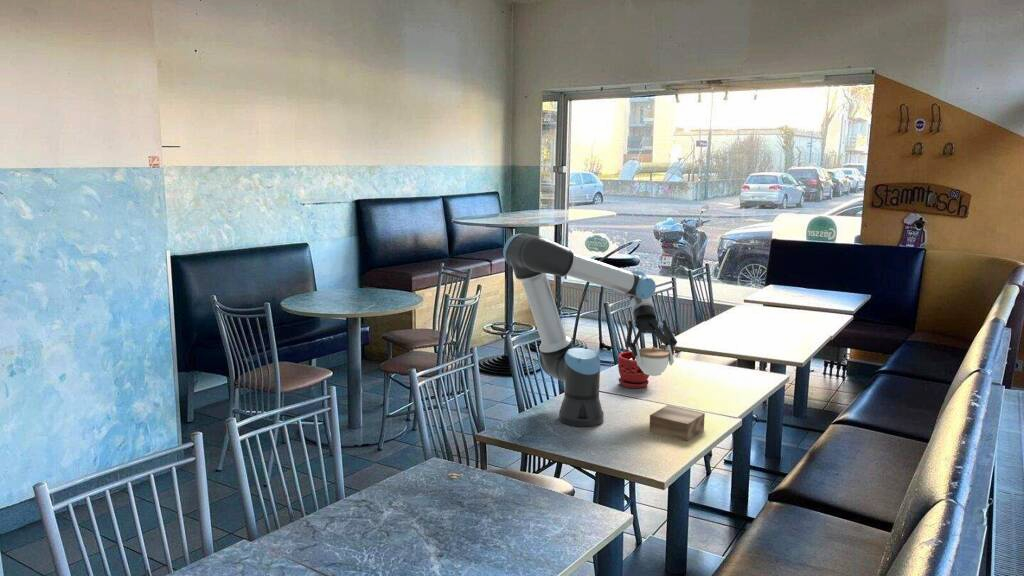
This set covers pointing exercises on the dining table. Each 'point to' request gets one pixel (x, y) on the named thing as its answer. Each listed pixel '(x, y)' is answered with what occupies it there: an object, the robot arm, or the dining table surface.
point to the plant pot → (631, 371)
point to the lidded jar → (653, 360)
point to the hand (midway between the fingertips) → (655, 363)
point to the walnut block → (677, 422)
